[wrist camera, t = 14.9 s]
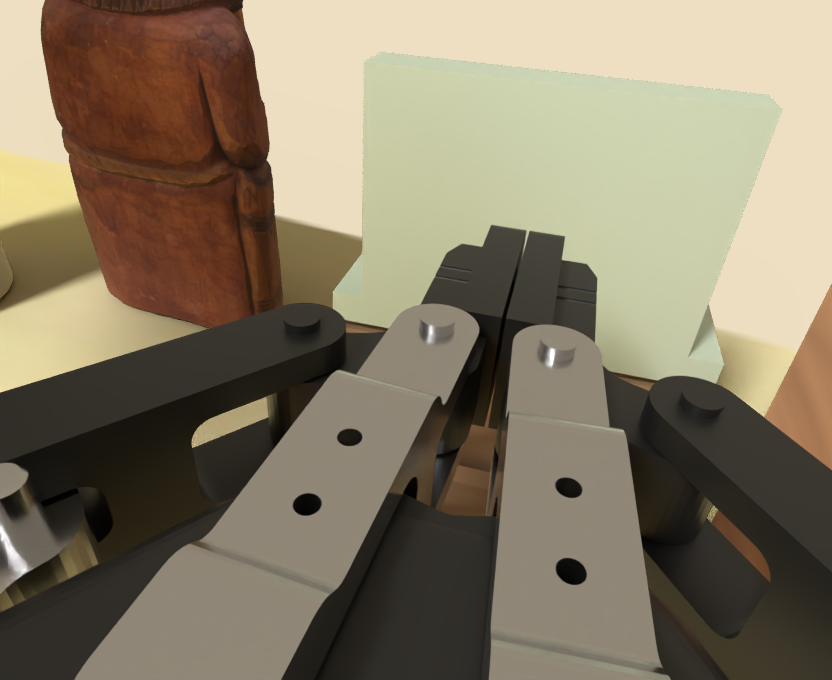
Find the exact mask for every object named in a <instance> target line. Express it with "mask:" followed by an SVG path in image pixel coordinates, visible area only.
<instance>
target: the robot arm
mask: <svg viewBox="0 0 832 680" xmlns="http://www.w3.org/2000/svg"><path fill="white" fill-rule="evenodd" d="M525 239H526V230H522V229H516V228H509V227H503V226H497V225H491V226H490V229H489V231H488V234H487V236H486V239H485V241H484V244H483V246H482V247H480V246H474V245H468V244H460V245H459V246H457V247H455V248H454V249H452V250H450V251H449V252H447V253H446V255H445V257H444V259H443V261H442V263H441V265H440V267H439V269H438V271H437V273H436V275H435V278H434V279H433V281H432V283H431V285H430V287H429V289H428V291H427V292H426V294H425V296H424V298H423V300H422V302H421V304H420V305H417V306H413V307H410V308H408V309H406V310H404V311H403V312H401V313H400V314H399V315H398V316H397V318H396V319H395V320H394V322H393V323H392V325H391V326H390V327H389V329H388V330H387V331H383V332H373V333H346V322H345V319H344V318H343V316H342V315H341V314H340V313H339V312H337V311H336V310H334V309H332V308H330V307H327V306H324V305H319V304H313V303H296V304H290V305H286V306H282V307H278V308H275V309H272V310H269V311H265V312H262V313H259V314H256V315H252V316H249V317H246V318H243V319H239V320H236V321H233V322H229V323H226V324H223V325H220V326H216V327H213V328H210V329H207V330H203V331H200V332H197V333H194V334H190V335H187V336H184V337H181V338H177V339H174V340H171V341H167V342H164V343H161V344H158V345H154V346H151V347H148V348H145V349H141V350H138V351H135V352H132V353H128V354H125V355H122V356H119V357H115V358H112V359H109V360H106V361H102V362H99V363H96V364H92V365H89V366H86V367H83V368H79V369H76V370H73V371H70V372H66V373H63V374H60V375H57V376H53V377H50V378H47V379H44V380H40V381H37V382H34V383H30V384H27V385H24V386H21V387H17V388H14V389H11V390H8V391H4V392H1V393H0V680H832V470H831V469H830V468H828V467H827V466H826V465H825V464H823V463H822V462H821V461H819V460H818V459H817V458H816V457H814V456H813V455H812V454H810V453H809V452H808V451H807V450H805V449H804V448H803V447H801V446H800V445H799V444H798V443H796V442H795V441H794V440H792V439H791V438H790V437H789V436H787V435H786V434H785V433H783V432H782V431H781V430H780V429H778V428H777V427H776V426H774V425H773V424H772V423H771V422H769V421H768V420H767V419H765V418H764V417H763V416H762V415H760V414H759V413H758V412H756V411H755V410H754V409H753V408H751V407H750V406H749V405H747V404H746V403H745V402H744V401H742V400H741V399H740V398H738V397H737V396H736V395H734V394H733V393H732V392H730V391H729V390H727V389H725V388H723V387H722V386H719V385H717V384H715V383H713V382H710V381H707V380H704V379H700V378H696V377H690V376H670V377H665V378H662V379H660V380H658V381H656V382H655V383H654V384H653V385H652V387H651V389H650V391H648V390H645V389H643V388H641V387H638V386H636V385H633V384H631V383H629V382H626V381H624V380H622V379H620V378H619V377H617V376H615V375H614V374H613V373H611V372H610V371H609V370H607V369H606V368H605V367H604V366H603V364H602V355H601V351H600V349H599V348H598V346H597V345H596V344H595V330H596V303H597V277H596V275H595V274H594V273H593V271H592V270H591V269H590V267H589V266H588V265H587V264H584V263H578V262H572V261H566V260H562V255H563V248H564V241H565V236H561V235H554V234H548V233H542V232H535V231H529V234H528V238H527V242H526V246H525V249H524V245H525ZM523 251H524V253H523ZM12 282H13V273H12V271H11V268H10V265H9V262H8V259H7V257H6V254H5V251H4V248H3V245H2V243H1V240H0V299H1V298H2V296H3V295H4V294H5V293H6V292H7V291H8V290H9V288H10V286H11V284H12ZM494 386H495V388H494ZM493 390H494V394H493ZM492 394H493V400H492V406H491V412H490V418H489V425H488V428H492V429H496V430H497V434H496V440H495V445H494V451H493V457H492V462H491V469H490V478H489V487H488V496H487V505H486V513H485V516H464V515H450V514H446V513H444V512H441V511H440V510H441V508H442V505H443V503H444V500H445V498H446V495H447V493H448V490H449V488H450V485H451V483H452V480H453V478H454V475H455V473H456V470H457V468H458V465H459V463H460V460H461V457H462V453H463V446H464V442H465V441H466V440H467V437H468V435H469V432H470V428H471V424H472V425H477V426H481V427H484V426H485V422H486V418H487V414H488V410H489V406H490V402H491V398H492ZM264 397H266V398H267V407H268V416H269V417H268V418H266V419H263V420H261V421H258V422H256V423H254V424H251V425H249V426H246V427H244V428H241V429H239V430H236V431H234V432H231V433H229V434H226V435H224V436H221V437H219V438H217V439H214V440H212V441H209V442H207V443H204V444H202V445H199V446H197V447H194V448H192V445H191V441H192V437H193V434H194V432H195V431H196V430H197V428H198V427H199V426H200V425H201V424H202V423H203V422H205V421H206V420H208V419H210V418H212V417H214V416H217V415H220V414H222V413H225V412H227V411H230V410H233V409H235V408H238V407H240V406H243V405H246V404H248V403H251V402H253V401H256V400H259V399H261V398H264ZM713 505H714V506H715V507H716V508H717V509H718V510H719V511H720V512H721V513H722V514H723V515H724V516H725V517H726V518H727V519H728V520H729V521H730V522H731V523H732V524H734V525H735V526H736V527H737V528H738V529H739V530H740V531H741V532H742V533H743V534H744V535H745V536H746V537H747V538H748V539H749V540H750V541H751V542H752V543H753V544H754V545H755V546H756V547H757V548H758V549H759V551H760V552H761V553H762V555H763V557H764V558H765V560H766V562H767V564H768V567H769V571H770V582H769V581H768V580H767V579H766V578H765V577H764V576H763V575H762V574H761V573H760V572H759V571H758V570H757V569H756V568H755V567H754V566H753V565H752V564H751V563H750V562H749V561H748V560H747V559H746V558H745V557H744V556H743V554H742V553H741V552H740V551H739V550H738V549H737V548H736V547H735V546H734V545H733V544H732V543H731V542H730V541H729V540H728V539H727V538H726V537H725V536H724V535H723V534H722V533H721V532H720V531H719V530H718V529H717V528H716V527H715V526H714V525H713V524H712V523H711V522H710V521H709V520H708V519H707V516H708V514H709V512H710V510H711V508H712V506H713ZM648 587H649V588H650V589H649V588H648Z"/></svg>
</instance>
